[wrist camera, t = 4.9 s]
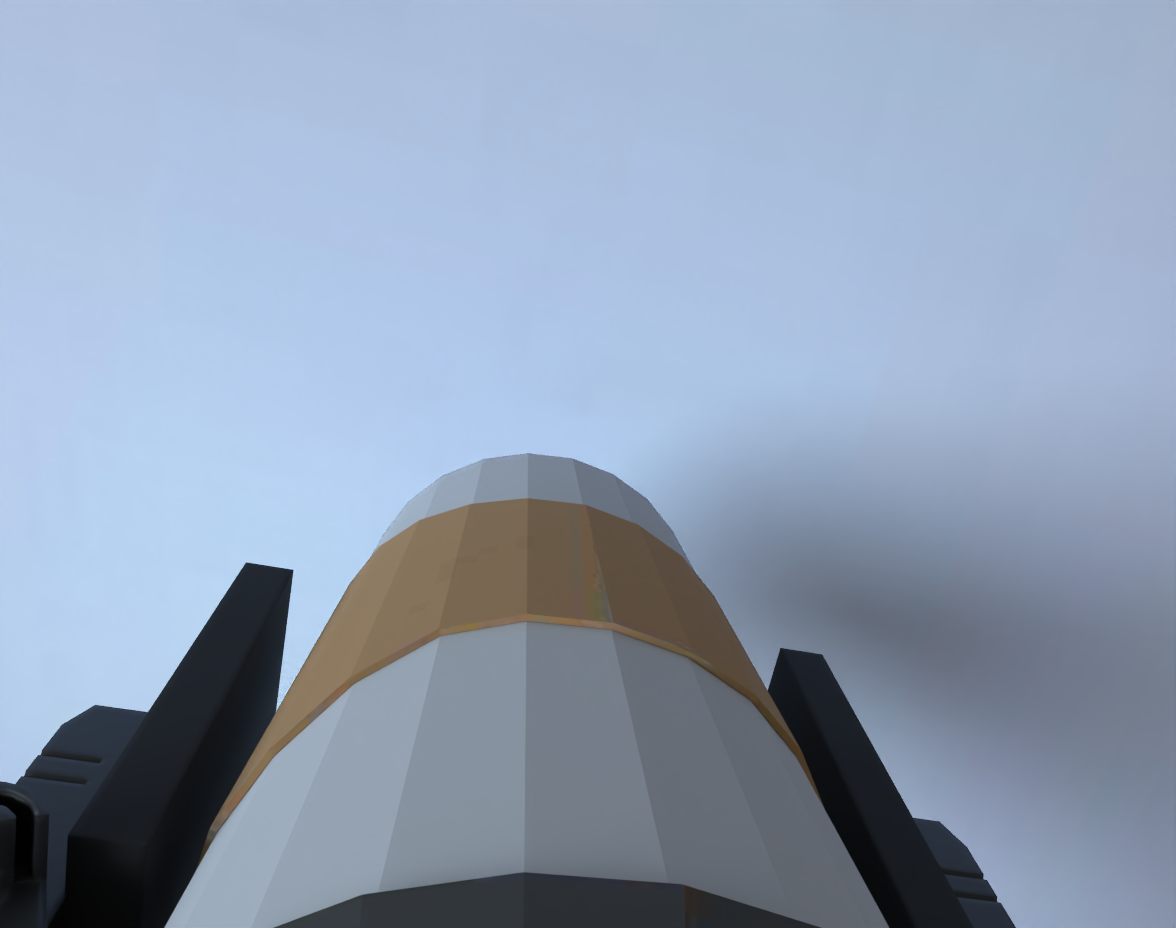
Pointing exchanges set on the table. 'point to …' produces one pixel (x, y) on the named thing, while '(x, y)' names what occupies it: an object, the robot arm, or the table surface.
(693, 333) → the table surface
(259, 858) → the coffee cup
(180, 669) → the robot arm
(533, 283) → the table surface
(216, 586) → the table surface
